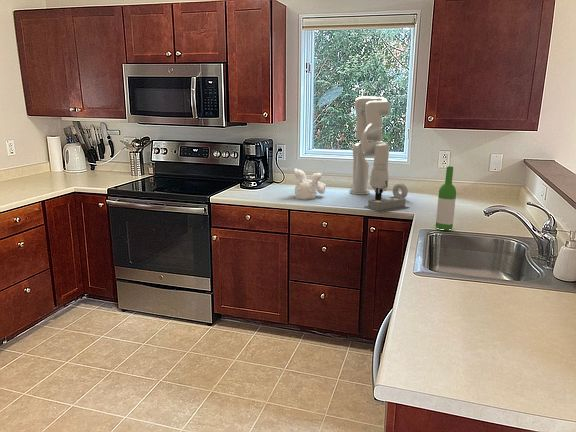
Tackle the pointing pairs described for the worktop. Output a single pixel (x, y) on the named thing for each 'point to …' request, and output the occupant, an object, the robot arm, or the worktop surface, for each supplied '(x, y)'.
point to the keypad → (387, 204)
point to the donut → (402, 187)
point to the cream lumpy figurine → (308, 185)
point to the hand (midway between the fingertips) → (378, 199)
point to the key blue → (387, 199)
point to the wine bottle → (446, 202)
